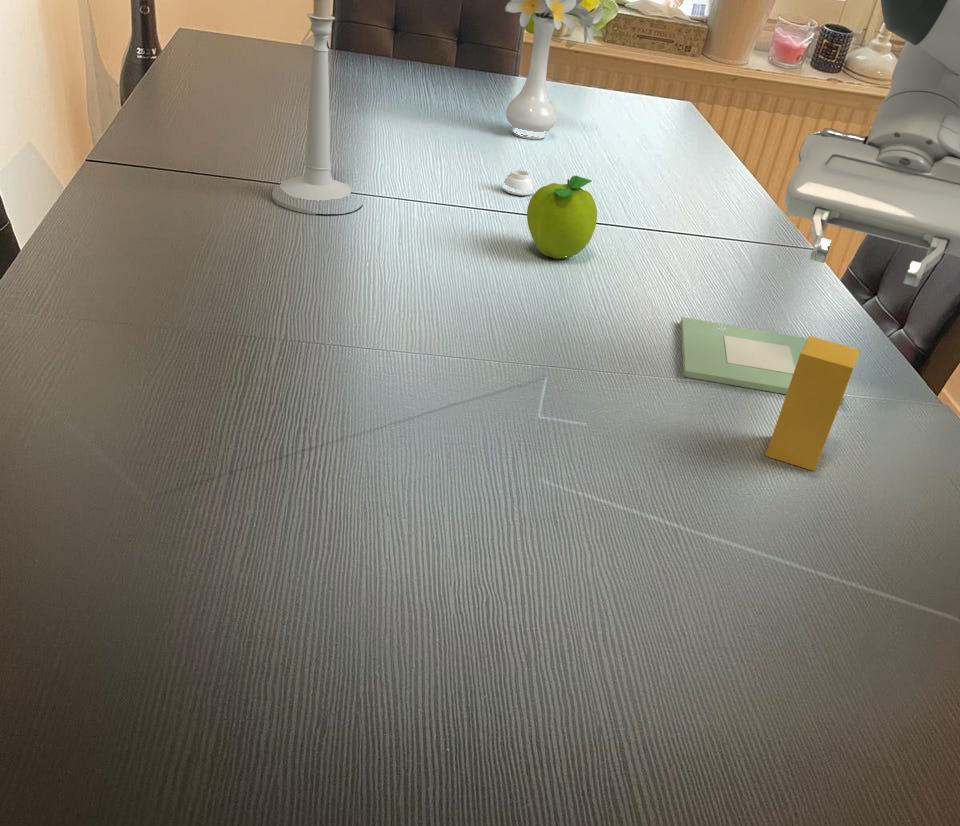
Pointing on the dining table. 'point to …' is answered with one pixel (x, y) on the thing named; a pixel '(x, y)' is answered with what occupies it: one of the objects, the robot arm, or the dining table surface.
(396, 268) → the dining table surface
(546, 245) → the fruit
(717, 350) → the mat
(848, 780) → the dining table surface
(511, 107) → the flower vase
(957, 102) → the robot arm
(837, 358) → the yellow box
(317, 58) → the candlestick
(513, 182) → the white jar
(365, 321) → the dining table surface
